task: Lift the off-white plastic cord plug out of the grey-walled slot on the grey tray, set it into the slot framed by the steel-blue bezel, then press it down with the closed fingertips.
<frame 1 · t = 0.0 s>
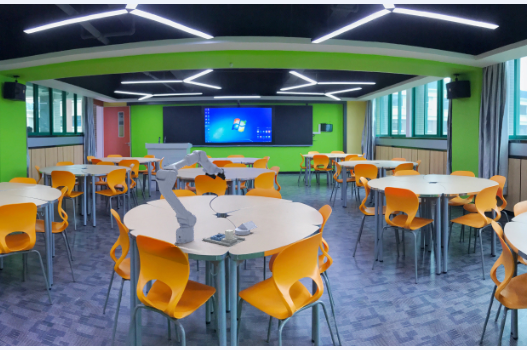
hand: (220, 178, 210), 32 cm above the table, tool tilted 50°, fingers open, 7 cm apart
grey tray: (223, 241, 190), on the table
plug: (229, 241, 188), point 1 cm above the table, touching grey tray
wedge on round base: (245, 234, 206), on the table
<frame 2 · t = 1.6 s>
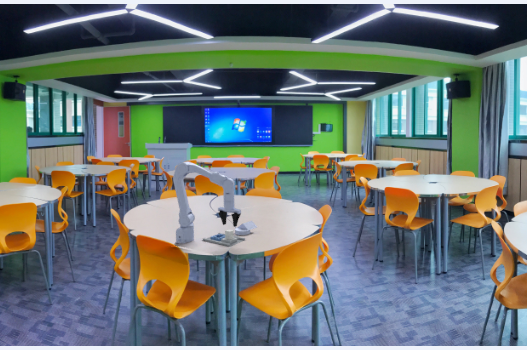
hand: (229, 225, 187), 10 cm above the table, tool pointing down, fingers open, 7 cm apart
nothing on the table moved.
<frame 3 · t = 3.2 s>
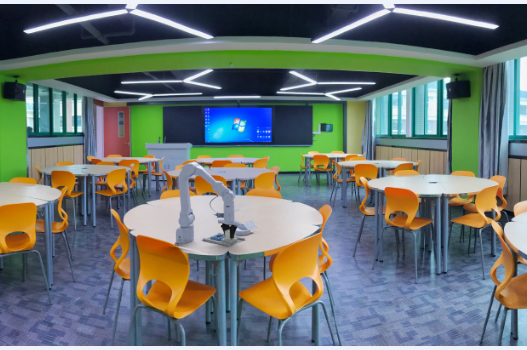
hand: (229, 237, 187), 3 cm above the table, tool pointing down, fingers closed on plug, 3 cm apart
plug: (229, 241, 188), point 1 cm above the table, touching grey tray, gripper
everything else where it was.
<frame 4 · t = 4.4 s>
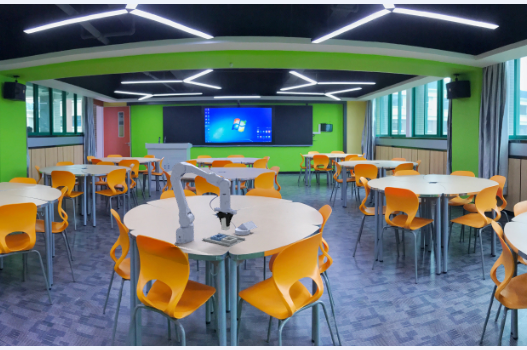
hand: (225, 225, 188), 9 cm above the table, tool pointing down, fingers closed on plug, 3 cm apart
plug: (225, 229, 188), point 7 cm above the table, touching gripper
everything else where it was.
when the fingers open (4 cm above the table, at t = 6.1 s): plug stays where it is, resting on grey tray.
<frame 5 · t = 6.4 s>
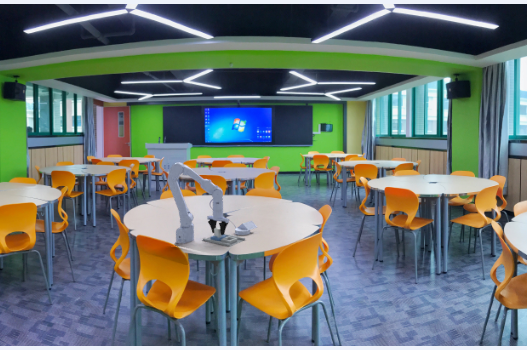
hand: (218, 233, 192), 4 cm above the table, tool pointing down, fingers open, 6 cm apart
plug: (218, 238, 192), point 1 cm above the table, touching grey tray
everything else where it was.
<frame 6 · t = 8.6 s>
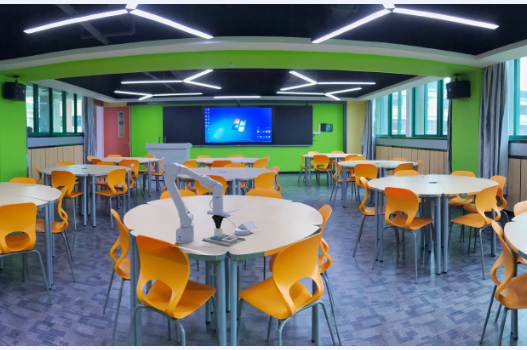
hand: (218, 228, 192), 7 cm above the table, tool pointing down, fingers closed, pressing on plug
plug: (218, 238, 192), point 1 cm above the table, touching grey tray, gripper
everything else where it was.
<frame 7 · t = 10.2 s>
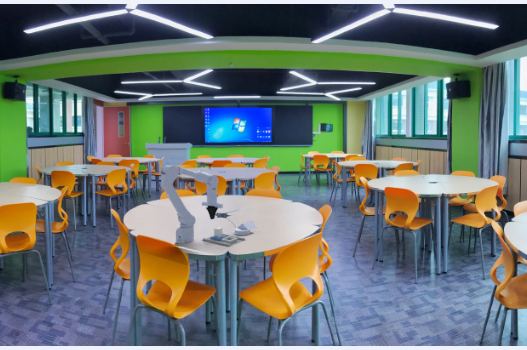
hand: (212, 218, 199), 10 cm above the table, tool pointing down, fingers closed
plug: (218, 238, 192), point 1 cm above the table, touching grey tray
everything else where it was.
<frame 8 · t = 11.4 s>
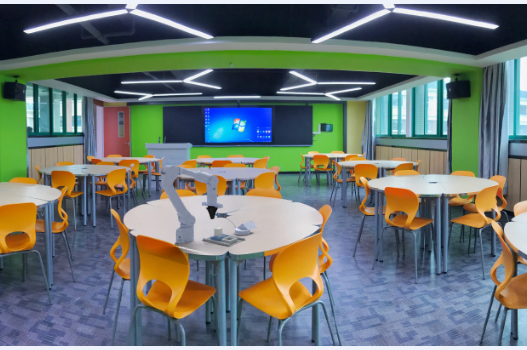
hand: (212, 218, 199), 10 cm above the table, tool pointing down, fingers closed
nothing on the table moved.
at the end: plug 0.0 cm from the target spot on the grey tray, point 1.0 cm above the grey tray's base; plug tilted 0°; the gripper is holding nothing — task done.
